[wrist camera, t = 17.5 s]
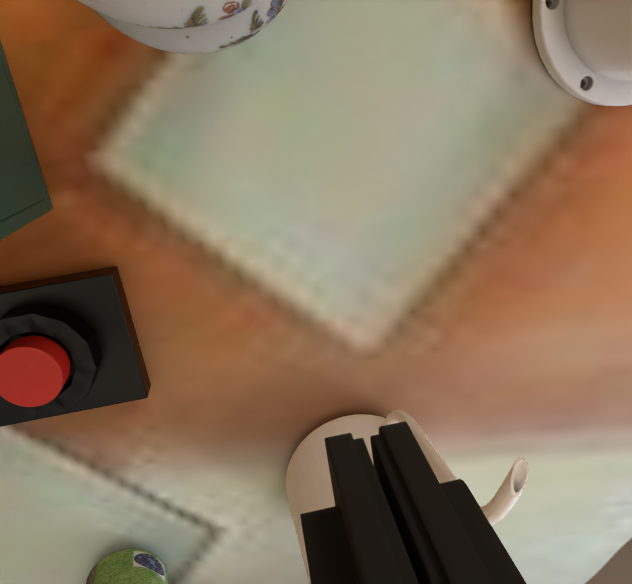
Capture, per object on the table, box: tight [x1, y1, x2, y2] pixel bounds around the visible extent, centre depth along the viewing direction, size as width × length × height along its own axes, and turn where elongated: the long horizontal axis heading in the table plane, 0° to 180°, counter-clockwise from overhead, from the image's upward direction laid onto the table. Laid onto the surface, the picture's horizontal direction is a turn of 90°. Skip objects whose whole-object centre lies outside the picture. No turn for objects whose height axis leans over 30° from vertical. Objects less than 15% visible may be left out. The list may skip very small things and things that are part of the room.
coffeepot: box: [286, 410, 529, 584], centre depth 35 cm, size 11×25×19 cm, turn 161°
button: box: [0, 335, 71, 407], centre depth 33 cm, size 4×4×2 cm
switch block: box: [0, 267, 151, 427], centre depth 35 cm, size 11×9×4 cm
